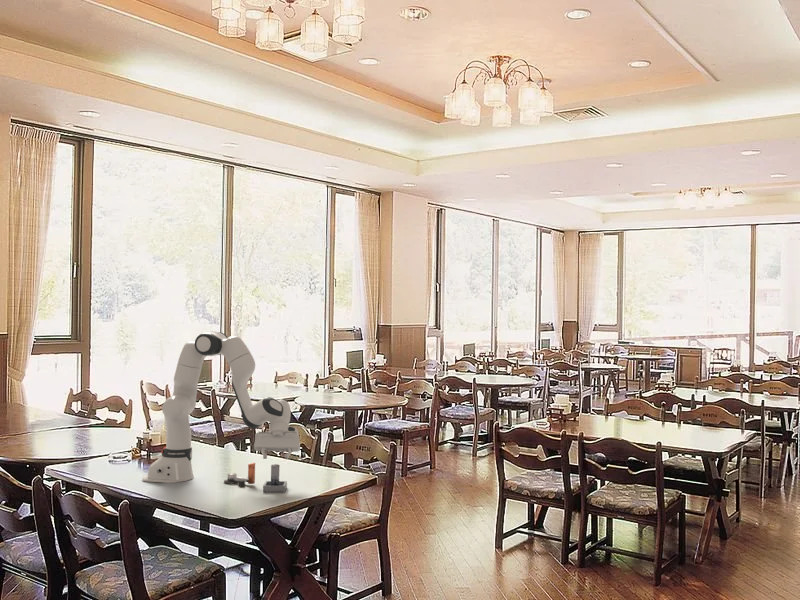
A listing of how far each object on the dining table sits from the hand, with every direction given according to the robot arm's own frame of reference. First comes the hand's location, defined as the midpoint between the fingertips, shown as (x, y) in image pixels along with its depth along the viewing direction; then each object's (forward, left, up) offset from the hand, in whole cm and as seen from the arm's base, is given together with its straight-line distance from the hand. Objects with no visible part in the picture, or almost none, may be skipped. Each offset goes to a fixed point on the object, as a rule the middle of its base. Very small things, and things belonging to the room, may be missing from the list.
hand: (275, 458), depth 334 cm
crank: (-16, +10, -13) cm, 23 cm away
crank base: (-21, +12, -14) cm, 28 cm away
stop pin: (0, -1, -13) cm, 13 cm away
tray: (0, -1, -14) cm, 14 cm away
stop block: (-15, +5, -14) cm, 21 cm away
